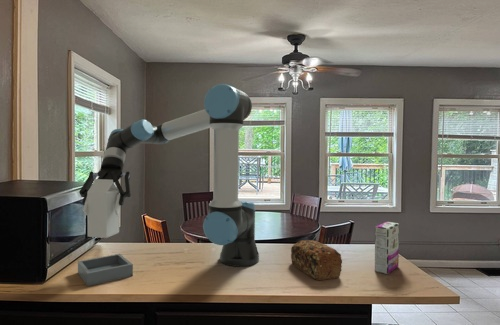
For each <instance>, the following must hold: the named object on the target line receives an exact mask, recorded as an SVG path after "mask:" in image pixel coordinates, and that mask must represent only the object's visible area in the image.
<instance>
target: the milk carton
mask: <svg viewBox="0 0 500 325" xmlns="http://www.w3.org/2000/svg"><path fill="white" fill-rule="evenodd" d="M118 194H120V193H119V190H118V188H117V187H116V185H115V183H113V180H107V179H98V178H96V179H94V182H93V183H92V185H91V187H90V189H89V190H88V192H87V213H88V214H87V215H86V216H87V237H90V238H101V239H108V238H109V237H112V236H115V235H118V234H119V233H120V212H119V213H118V215H116V214H115V211H114V209H115V205H116V200H117V195H118Z"/></svg>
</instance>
